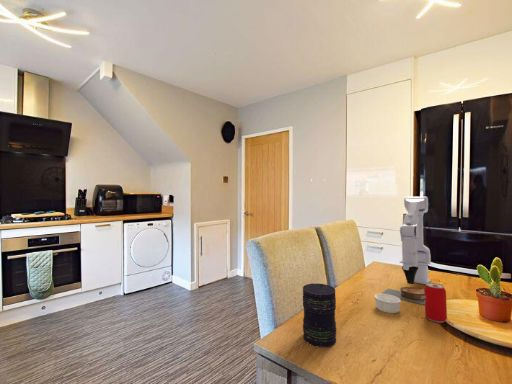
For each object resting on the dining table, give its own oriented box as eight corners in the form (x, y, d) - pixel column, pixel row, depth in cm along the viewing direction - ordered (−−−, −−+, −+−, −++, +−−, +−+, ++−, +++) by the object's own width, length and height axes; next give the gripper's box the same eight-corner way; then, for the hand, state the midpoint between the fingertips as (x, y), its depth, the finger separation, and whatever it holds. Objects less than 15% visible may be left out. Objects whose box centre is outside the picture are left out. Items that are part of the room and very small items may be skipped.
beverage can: (443, 317, 90) (442, 283, 91) (450, 325, 84) (448, 288, 85) (422, 314, 92) (421, 281, 93) (428, 322, 86) (427, 286, 87)
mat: (388, 289, 119) (388, 288, 119) (439, 300, 105) (439, 299, 105) (380, 294, 112) (380, 293, 112) (435, 307, 98) (435, 307, 98)
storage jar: (331, 352, 70) (330, 297, 70) (297, 341, 75) (297, 290, 75) (340, 335, 78) (339, 286, 79) (309, 327, 83) (309, 281, 84)
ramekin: (399, 306, 99) (399, 295, 100) (402, 316, 91) (401, 303, 92) (374, 303, 103) (374, 292, 103) (375, 311, 95) (374, 300, 95)
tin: (432, 287, 112) (444, 293, 104) (432, 295, 112) (445, 301, 104) (397, 286, 114) (406, 291, 105) (397, 293, 113) (406, 299, 105)
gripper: (404, 248, 119) (404, 277, 118) (394, 253, 109) (395, 285, 108) (421, 250, 114) (422, 281, 113) (413, 255, 104) (414, 289, 103)
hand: (410, 283), depth 110 cm, fingers closed
